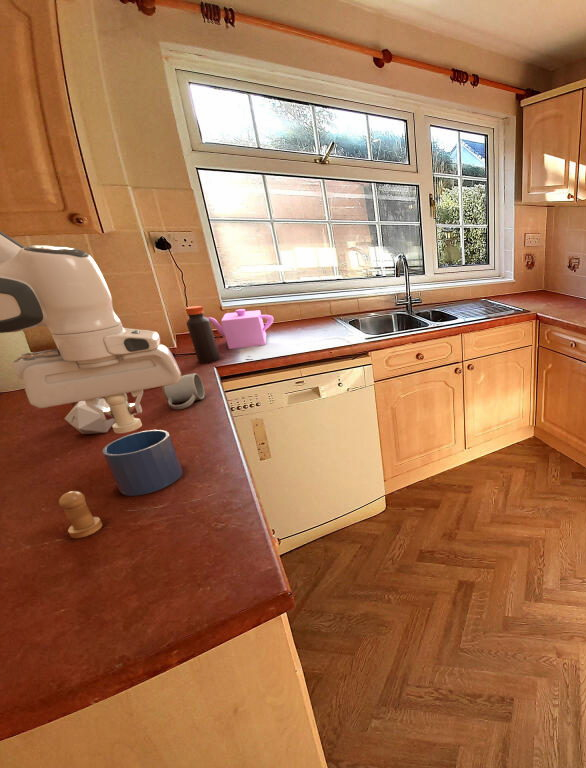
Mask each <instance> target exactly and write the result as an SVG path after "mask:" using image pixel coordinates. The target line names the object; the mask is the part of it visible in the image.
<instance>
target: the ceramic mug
mask: <svg viewBox="0 0 586 768" xmlns="http://www.w3.org/2000/svg"><path fill="white" fill-rule="evenodd" d="M161 390H162V394H163V397H164V399H165V400H166V401H167V402H168V406H170V408H172V409H174V410H183V409H187V408H189V407H190V406H191V405H192V404H194V403H195V401H200V400H203V399H204V398H205V387H204V383H203V381H202V379H201V377H200V375H199V374H198V373H196V372H195V373H190V374H185V375H181V379H180V380H179V382H178V383H176V384H171V385H166V386H161ZM180 403H182V404H180ZM175 404H176V405H175Z"/></svg>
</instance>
